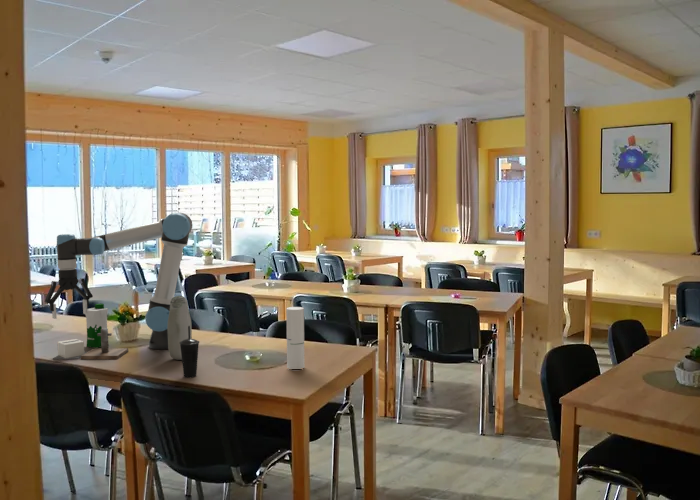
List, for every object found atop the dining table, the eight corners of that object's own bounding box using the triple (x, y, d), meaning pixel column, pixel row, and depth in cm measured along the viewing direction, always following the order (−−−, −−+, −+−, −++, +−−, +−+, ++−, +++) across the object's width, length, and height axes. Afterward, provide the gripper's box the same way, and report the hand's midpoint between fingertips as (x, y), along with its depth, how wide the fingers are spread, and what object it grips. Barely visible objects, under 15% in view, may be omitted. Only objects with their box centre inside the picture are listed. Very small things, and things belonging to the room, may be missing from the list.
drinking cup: (201, 373, 256) (200, 324, 254) (197, 378, 248) (196, 327, 247) (182, 373, 255) (181, 324, 254) (178, 378, 248) (176, 328, 246)
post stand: (128, 351, 294) (127, 325, 293) (117, 359, 280) (116, 332, 279) (93, 351, 293) (92, 326, 293) (81, 359, 280) (80, 332, 279)
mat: (88, 353, 291) (88, 352, 291) (78, 359, 280) (78, 357, 280) (64, 353, 291) (64, 352, 291) (53, 359, 280) (53, 358, 280)
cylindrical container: (295, 364, 268) (294, 306, 266) (308, 367, 263) (307, 308, 261) (283, 368, 262) (282, 308, 260) (296, 371, 258) (295, 310, 256)
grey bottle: (167, 357, 281) (165, 295, 279) (191, 355, 285) (189, 293, 283) (169, 363, 272) (167, 298, 270) (193, 360, 276) (192, 296, 274)
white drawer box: (76, 351, 291) (76, 338, 291) (84, 354, 285) (83, 341, 285) (57, 355, 285) (57, 341, 285) (65, 358, 280) (64, 344, 279)
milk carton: (111, 344, 308) (109, 303, 306) (96, 348, 299) (95, 306, 298) (98, 343, 311) (96, 302, 310) (83, 347, 303) (81, 305, 302)
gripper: (91, 265, 294) (94, 311, 296) (34, 271, 276) (37, 319, 278) (98, 266, 289) (101, 313, 290) (41, 272, 271) (44, 321, 273)
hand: (70, 316), depth 284 cm, fingers open, 13 cm apart
